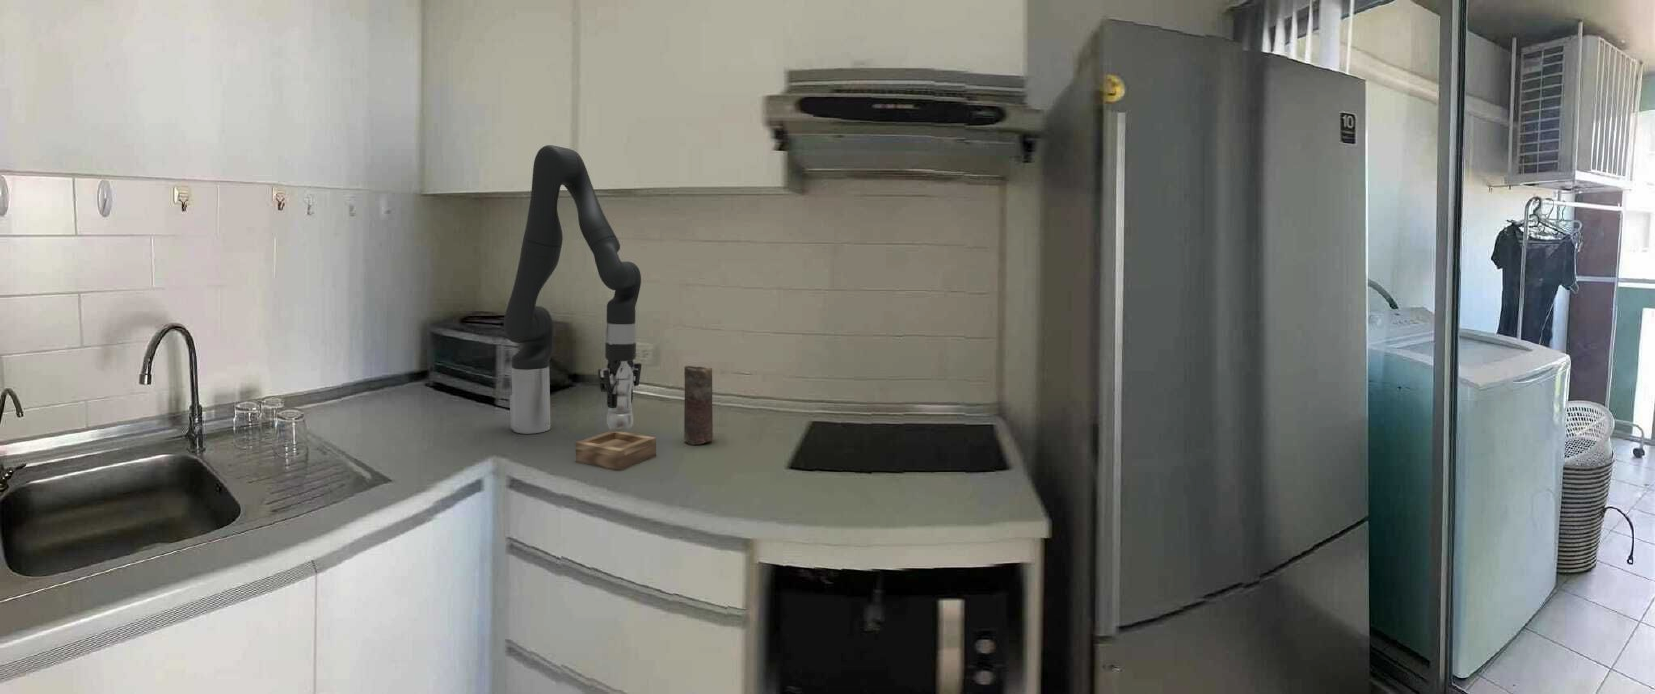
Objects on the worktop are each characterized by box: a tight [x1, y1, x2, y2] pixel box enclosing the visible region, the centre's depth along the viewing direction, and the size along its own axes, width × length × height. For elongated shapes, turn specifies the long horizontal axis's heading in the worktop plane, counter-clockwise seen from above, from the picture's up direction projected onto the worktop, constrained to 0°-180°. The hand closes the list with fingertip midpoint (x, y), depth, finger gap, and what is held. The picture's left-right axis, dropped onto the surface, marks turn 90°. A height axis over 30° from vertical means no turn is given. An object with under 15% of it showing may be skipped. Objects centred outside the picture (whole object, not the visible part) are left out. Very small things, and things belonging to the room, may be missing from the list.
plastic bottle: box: [606, 361, 634, 431], centre depth 179 cm, size 6×7×20 cm
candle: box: [683, 365, 714, 446], centre depth 182 cm, size 8×7×20 cm
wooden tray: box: [575, 430, 657, 471], centre depth 166 cm, size 13×13×4 cm
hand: (620, 405), depth 180 cm, fingers closed on plastic bottle, 5 cm apart
